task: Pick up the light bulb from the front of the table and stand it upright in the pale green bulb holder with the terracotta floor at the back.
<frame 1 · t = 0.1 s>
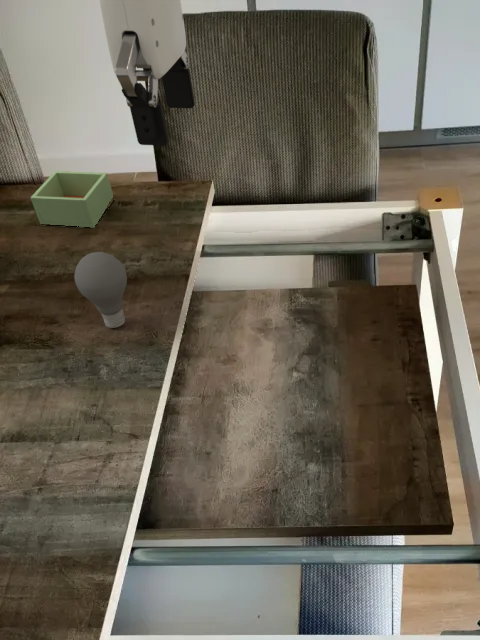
hand: (168, 124, 71), 22 cm above the table, tool pointing down, fingers open, 9 cm apart
light bulb: (116, 325, 84), on the table
holder: (78, 212, 104), on the table
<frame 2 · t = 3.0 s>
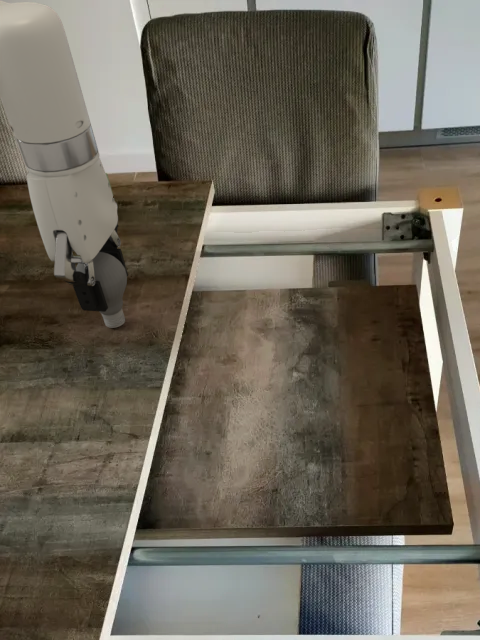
hand: (105, 291, 80), 5 cm above the table, tool pointing down, fingers closed on light bulb, 6 cm apart
light bulb: (116, 325, 84), on the table, touching gripper
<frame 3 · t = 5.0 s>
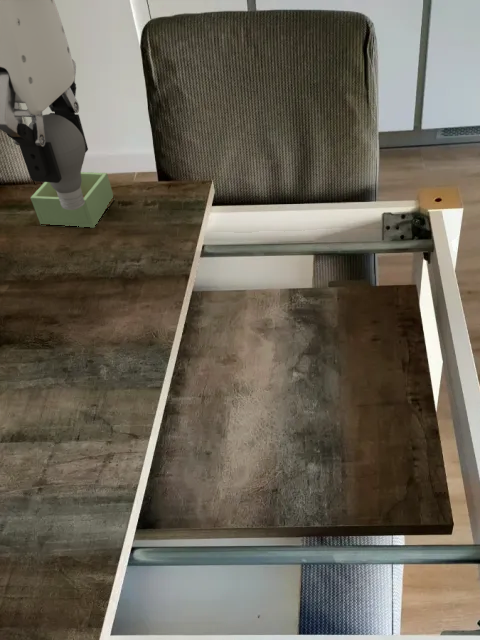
hand: (60, 164, 70), 20 cm above the table, tool pointing down, fingers closed on light bulb, 6 cm apart
light bulb: (74, 209, 74), point 15 cm above the table, touching gripper
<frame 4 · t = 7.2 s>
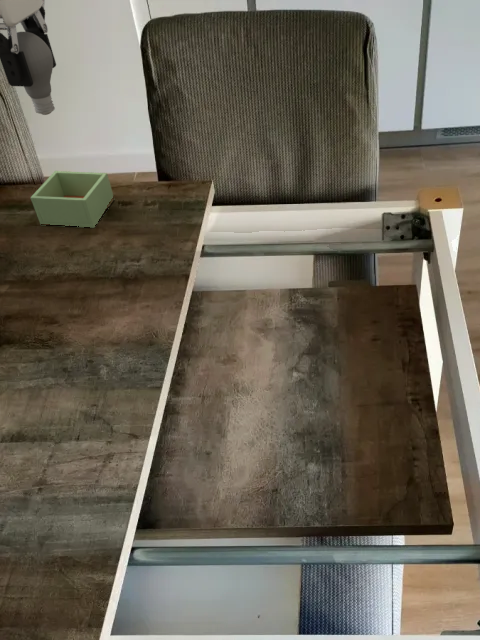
hand: (33, 74, 87), 21 cm above the table, tool pointing down, fingers closed on light bulb, 6 cm apart
light bulb: (46, 114, 91), point 16 cm above the table, touching gripper
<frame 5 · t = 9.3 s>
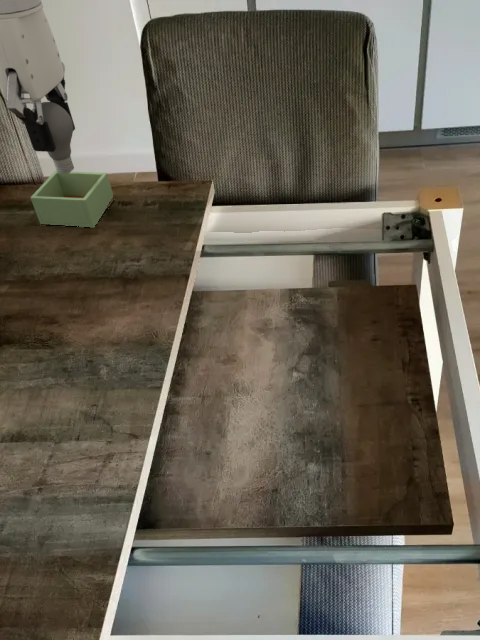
hand: (55, 139, 96), 12 cm above the table, tool pointing down, fingers closed on light bulb, 6 cm apart
light bulb: (66, 173, 99), point 6 cm above the table, touching gripper
when the fingers open (6 cm above the table, at t = 11.2 s): light bulb stays where it is, resting on holder.
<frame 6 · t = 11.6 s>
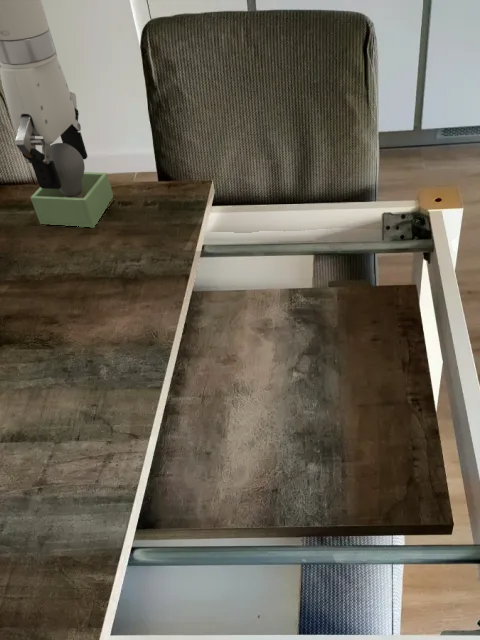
hand: (64, 172, 99), 7 cm above the table, tool pointing down, fingers open, 9 cm apart
light bulb: (77, 208, 104), point 1 cm above the table, touching holder
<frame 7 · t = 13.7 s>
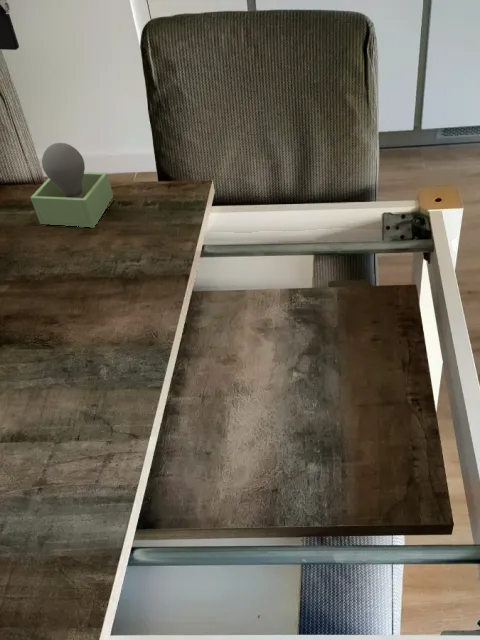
nothing on the table moved.
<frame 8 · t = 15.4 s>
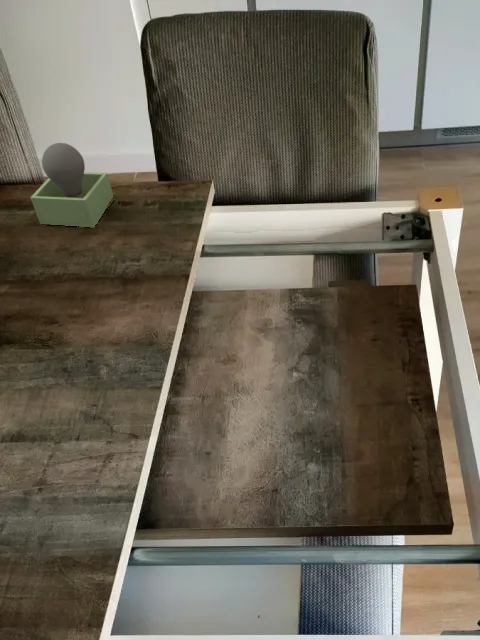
nothing on the table moved.
at the end: light bulb 0.1 cm off-centre in the holder, point 0.6 cm above the holder's base; light bulb tilted 0°; the gripper is holding nothing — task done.
